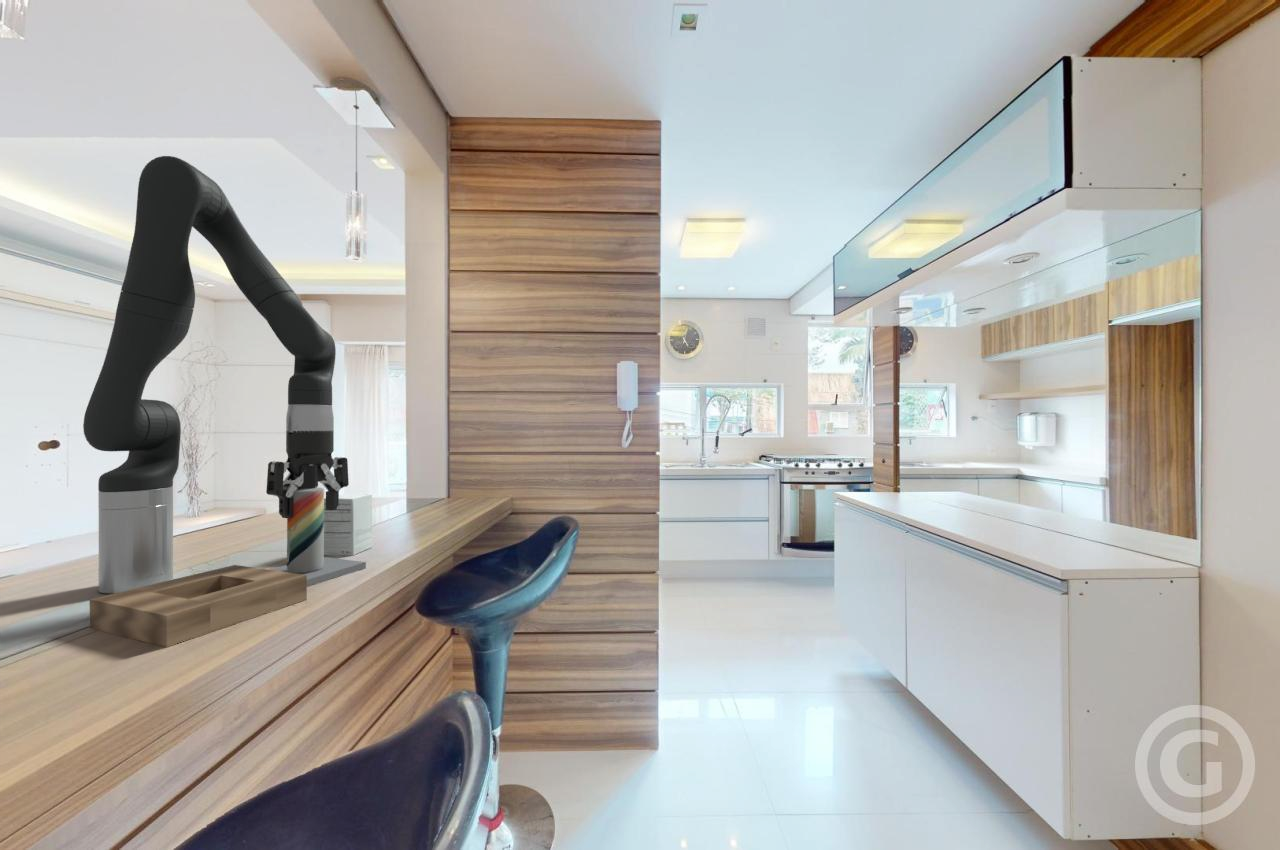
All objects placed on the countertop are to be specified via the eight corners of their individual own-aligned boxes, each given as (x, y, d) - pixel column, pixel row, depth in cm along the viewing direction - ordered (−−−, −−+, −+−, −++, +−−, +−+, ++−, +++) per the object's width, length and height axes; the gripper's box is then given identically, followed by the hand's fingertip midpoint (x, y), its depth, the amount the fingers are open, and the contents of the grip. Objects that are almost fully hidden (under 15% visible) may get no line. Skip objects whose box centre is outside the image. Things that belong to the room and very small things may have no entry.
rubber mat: (250, 580, 89) (250, 574, 89) (319, 562, 101) (319, 556, 101) (300, 588, 84) (300, 581, 84) (365, 568, 96) (365, 562, 96)
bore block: (89, 627, 68) (89, 599, 68) (234, 587, 85) (234, 564, 85) (166, 647, 62) (166, 615, 62) (306, 599, 79) (306, 575, 79)
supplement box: (343, 547, 114) (342, 493, 114) (373, 547, 113) (373, 493, 113) (320, 555, 106) (320, 498, 106) (352, 556, 106) (352, 498, 106)
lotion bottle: (281, 571, 90) (282, 463, 91) (315, 564, 95) (315, 462, 95) (295, 575, 87) (295, 464, 88) (329, 568, 92) (329, 463, 92)
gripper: (331, 428, 101) (331, 507, 101) (256, 429, 87) (256, 519, 87) (358, 429, 98) (357, 509, 98) (285, 429, 85) (285, 522, 85)
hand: (310, 513), depth 93 cm, fingers open, 8 cm apart
